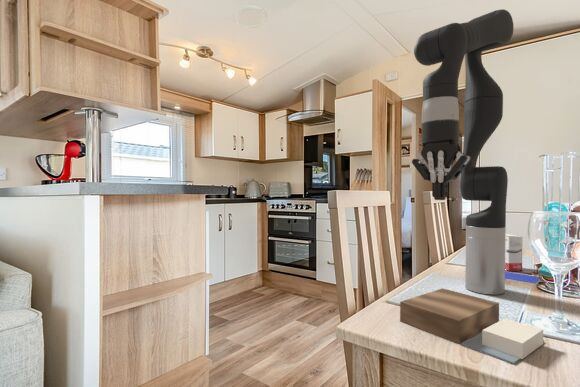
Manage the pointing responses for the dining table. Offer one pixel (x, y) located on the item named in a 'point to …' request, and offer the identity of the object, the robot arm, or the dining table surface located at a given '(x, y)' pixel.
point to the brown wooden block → (449, 314)
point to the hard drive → (521, 278)
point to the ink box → (513, 252)
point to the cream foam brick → (512, 338)
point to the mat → (489, 349)
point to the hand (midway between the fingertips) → (439, 199)
